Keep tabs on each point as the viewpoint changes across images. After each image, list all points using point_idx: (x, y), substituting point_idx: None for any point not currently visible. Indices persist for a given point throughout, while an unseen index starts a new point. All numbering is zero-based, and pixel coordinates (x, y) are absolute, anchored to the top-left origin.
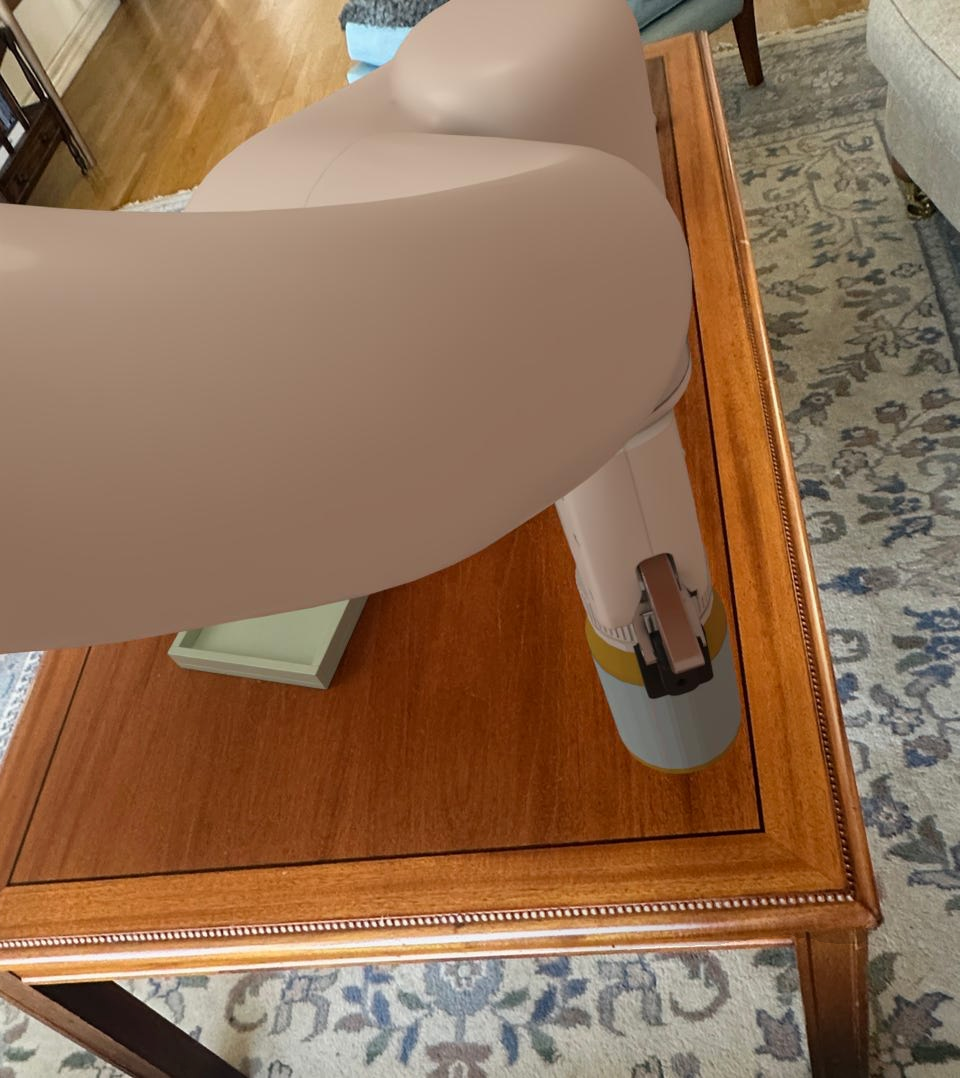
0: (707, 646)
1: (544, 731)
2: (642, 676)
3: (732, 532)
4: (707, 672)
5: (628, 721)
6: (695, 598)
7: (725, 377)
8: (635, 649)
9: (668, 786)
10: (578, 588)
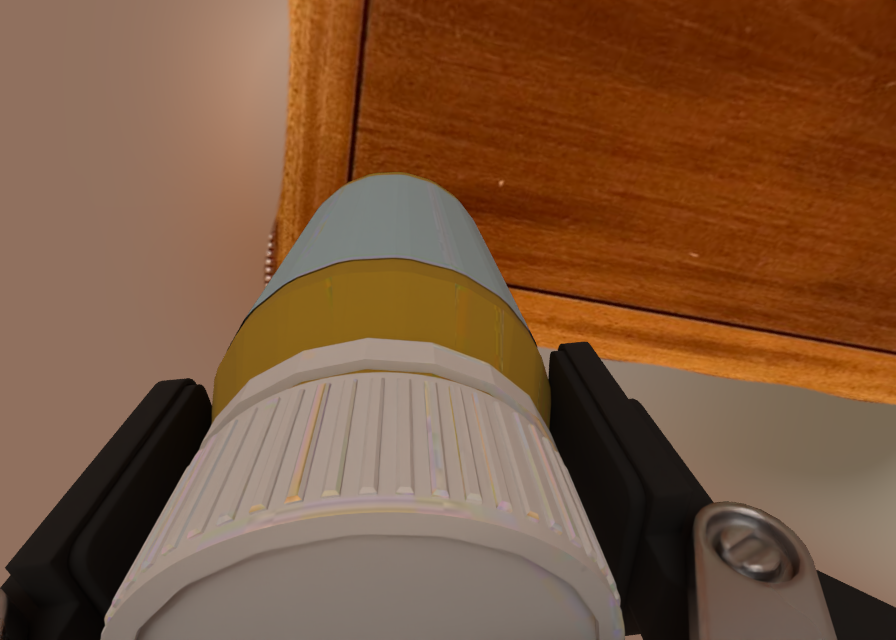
0: None
1: (533, 26)
2: (109, 447)
3: (684, 324)
4: None
5: (306, 232)
6: None
7: (879, 372)
8: (30, 568)
9: None
10: (324, 491)
